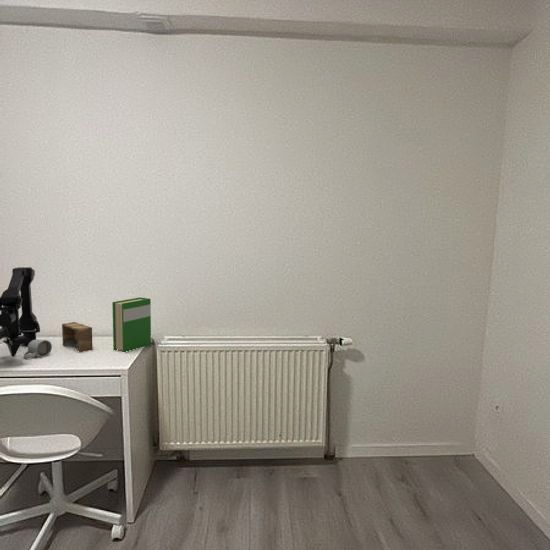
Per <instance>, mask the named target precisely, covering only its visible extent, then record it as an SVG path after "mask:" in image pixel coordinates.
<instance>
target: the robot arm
mask: <svg viewBox="0 0 550 550" xmlns="http://www.w3.org/2000/svg"><path fill="white" fill-rule="evenodd" d="M11 273H12V275H11V277H10V281H9V285H8V287H7V289H5V290H3V292H2V294H1V296H0V327H1V328H0V340H2V339H4V340H2V342H3V343H4V344H6V345H7V347H8V351H9V352H10V353H9V354H10V357H11V358H12V357H13V358H14V357H16V355H17V353H18V350H19V349H20V346H21V344H22V346H24V347H28V344H29V343H30V342H31V341H32V340H36V339H37V334H38V333H41V326H40V323H39V321H38V320H37V316H36V315H35V314H34V312H33V300H32V289H31V288H32V287H31V284H32V283H33V281H34V279H35V276H36V271H35V269H33V268H32V267H31V266H29V267H28V266H27V267H24V266H23V267H21V266H20V267H19V266H18V267H14V268H12V271H11ZM20 309H21V316H20V311H19V310H20Z"/></svg>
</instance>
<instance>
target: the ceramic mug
mask: <svg viewBox="0 0 550 550" xmlns="http://www.w3.org/2000/svg"><path fill="white" fill-rule="evenodd" d="M52 349H53V346H52V343H51V342H50V340H47V339H37V338H36V340H32V341H31V342H30V343H29V344H28V346H27V351H25V352H24V354H23V357H24V359H25V358H30V359H32V358H34V357H36V356H37V357H39V358H40V357H41V358H44V357H47V356H48V355H50V354H51V352H52ZM29 354H30V355H29Z"/></svg>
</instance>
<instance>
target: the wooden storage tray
mask: <svg viewBox="0 0 550 550" xmlns="http://www.w3.org/2000/svg"><path fill="white" fill-rule="evenodd" d="M61 330H62V332H61V333H62V334H61V335H62V346H63V347H65V346H66V347H75V346H76V345H77V346H76V348H77V352H78V351H79V352H78V353H84V352H83V351H85V352H88V350H90V351H92V349H94V348H93V327H92V326H89V325H85V324H82V323H79V322H76V321H72V322H65V323H61Z"/></svg>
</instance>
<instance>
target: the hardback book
mask: <svg viewBox="0 0 550 550" xmlns="http://www.w3.org/2000/svg"><path fill="white" fill-rule="evenodd" d="M151 302H152V301H151V298H147V297H133V298H128V299H127V298H126V299H122V300H115V301H112V306H111V307H112V338H113V339H112V340H113V343H112V345H113V347H112V348H113V351H114V350H115V351H122V353H123V352H125V353H127V352H126V351H128V352H130V351H129V350H131V351H134V350H133V349H135V350H137V349H136V348H138V349H141V348H144V347H147V346H151V345H152V313H151V312H152V310H151V309H152V308H151V307H152V304H151ZM140 347H141V348H140ZM117 349H118V350H117Z"/></svg>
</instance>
